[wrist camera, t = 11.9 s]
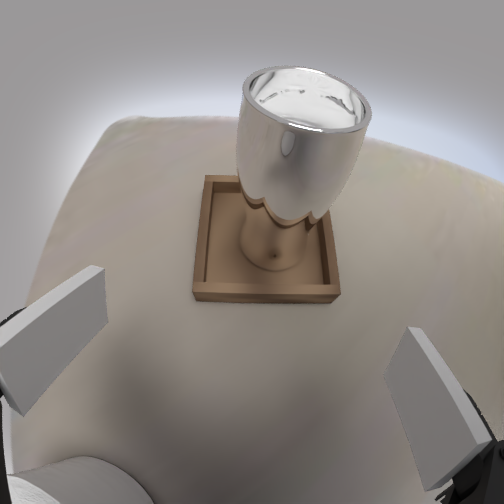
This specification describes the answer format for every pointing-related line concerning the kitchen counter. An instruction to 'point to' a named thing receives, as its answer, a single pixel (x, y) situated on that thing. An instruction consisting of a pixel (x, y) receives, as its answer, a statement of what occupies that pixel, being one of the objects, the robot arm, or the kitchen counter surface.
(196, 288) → the tray
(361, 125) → the beer glass
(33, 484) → the toilet tissue
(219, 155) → the kitchen counter surface
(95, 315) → the robot arm
